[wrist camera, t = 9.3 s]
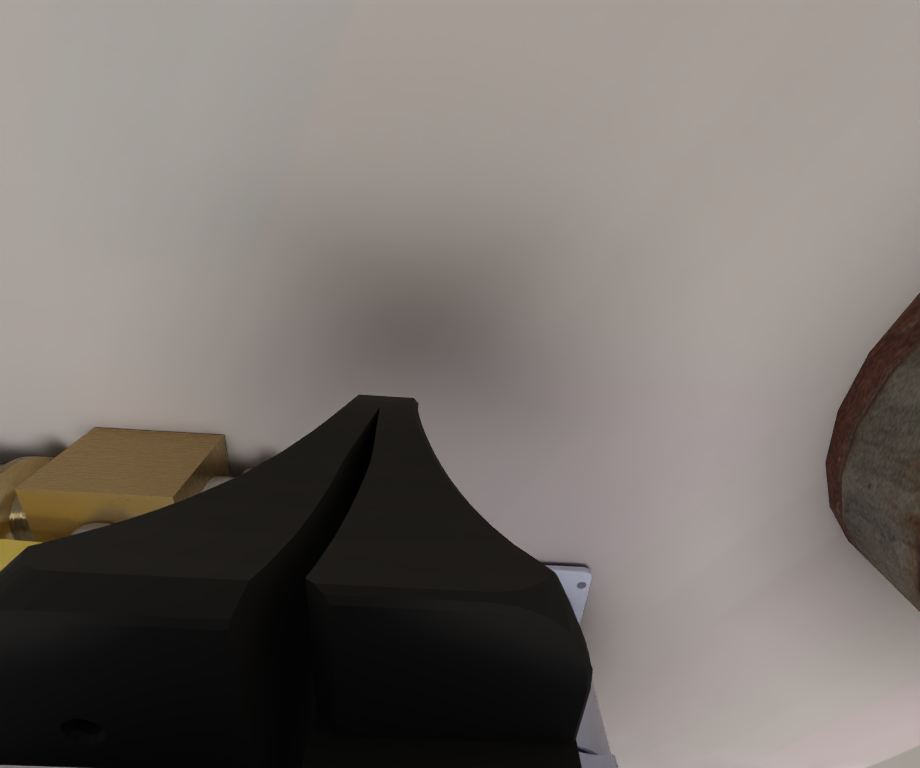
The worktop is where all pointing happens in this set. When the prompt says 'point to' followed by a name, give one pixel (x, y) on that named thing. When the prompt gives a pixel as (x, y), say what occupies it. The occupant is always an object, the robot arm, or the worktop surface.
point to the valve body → (106, 480)
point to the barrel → (882, 457)
